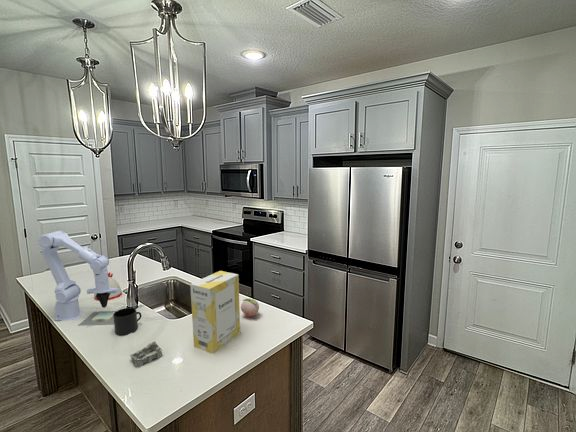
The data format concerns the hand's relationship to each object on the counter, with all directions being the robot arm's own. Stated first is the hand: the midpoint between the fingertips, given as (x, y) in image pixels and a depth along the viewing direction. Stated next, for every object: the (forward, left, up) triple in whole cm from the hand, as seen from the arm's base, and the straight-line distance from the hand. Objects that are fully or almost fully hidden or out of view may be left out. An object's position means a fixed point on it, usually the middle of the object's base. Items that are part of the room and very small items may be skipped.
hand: (104, 306), depth 153 cm
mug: (+17, -12, -6) cm, 22 cm away
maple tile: (0, +2, -5) cm, 5 cm away
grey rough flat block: (+34, -35, -6) cm, 49 cm away
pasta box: (+60, -23, -6) cm, 65 cm away
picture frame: (0, -1, -6) cm, 6 cm away
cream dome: (-12, +26, -6) cm, 29 cm away
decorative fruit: (+73, -3, -6) cm, 73 cm away
